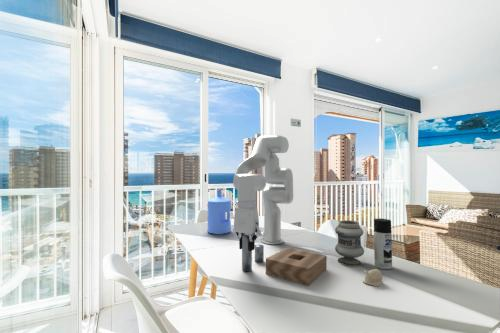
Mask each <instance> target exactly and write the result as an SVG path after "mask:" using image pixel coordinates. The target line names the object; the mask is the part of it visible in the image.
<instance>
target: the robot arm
mask: <svg viewBox="0 0 500 333" xmlns="http://www.w3.org/2000/svg"><path fill="white" fill-rule="evenodd" d="M289 145H290V144H289V140H288V138H287V137H285V136H283V135H278V134H277V135H262V136H258V137H257V138H256V140H255V143H254V146H253V149H252V152H251V155H250V156H249V157H247V158H246V159H244V160H243V161H242V162H241V163H240V164H239V165H238V166H237V167H236V169H235V170H236V171H235V173H234V176H233V180H232V183H233V184H232V185H233V187H234V189H235V190H237V201H236V202H235V204H236V205H237V206H236V208H235V211H234V217H233V218H234V220H233V229H232V231H233V232H234V233H235V234H236V236H237V239H238V241H239V242H238V244H239V250H242V235H243V234H249V239H250V241H249V242H248V250H249V251H252V252H253V251H255V245H256V244H255V241H256V240H257V239H258V238H259V237H262V238H261V243H263V244H265V245H280V244H283V243H284V241H285V240H284V239H283V238H282V232H281V231H282V227H281V226H282V221H281V220H282V218H281V217H282V215H281V214H282V213H281V212H282V210H281V208H280V207H279V204H284V205H285V204H287V205H288V204H289V205H290V204H292V203H293V200H294V176H293V175H294V174H293V170H292V169H291V168H288V167H280V159H279V156H278V154H285V153H287V152H288V151H289V147H290V146H289ZM261 168H264V175H263V174H261V173H251V172H253V171H255V170H258V169H261ZM266 185H278V186H266ZM279 185H282V186H279ZM261 191H262V200H263V208H264V209H263V210H264V212H263V215H264V216H263V220H264V222H263V224H264V225H263V228H264V229H263V230H264V231H262V232H261V229H260V220H259V219H260V218H259V212H258V208H257V192H261Z"/></svg>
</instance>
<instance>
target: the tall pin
mask: <svg viewBox="0 0 500 333" xmlns="http://www.w3.org/2000/svg"><path fill="white" fill-rule="evenodd" d="M249 241H250V239H249V234H243V235H242V249H241V270H242V271H243V272H250V271H252V270H253V255H252V254H253V250H252V251H249V250H248V242H249Z"/></svg>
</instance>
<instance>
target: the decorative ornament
mask: <svg viewBox="0 0 500 333" xmlns="http://www.w3.org/2000/svg"><path fill="white" fill-rule="evenodd" d="M363 273H364V274H365V276H364V280H363V282H362V283H363V284H367V285H370V286H373V287H380V286H382V285H383V275H382V272H381V271H380V270H379V268H377V269H376V268H374V269H370V270H366V269H364V270H363Z"/></svg>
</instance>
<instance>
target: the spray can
mask: <svg viewBox="0 0 500 333" xmlns="http://www.w3.org/2000/svg"><path fill="white" fill-rule="evenodd" d="M392 234H393V233H392V220H391V219H388V218H374V219H373V242H374V244H373V245H374V246H373V247H374V251H373V252H374V266H375V267H376V268H377V269H381V270H392V269H393V245H392V244H393V243H392V241H393V239H392V238H393V237H392V236H393V235H392Z"/></svg>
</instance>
